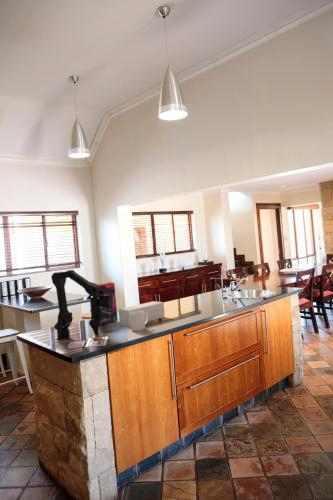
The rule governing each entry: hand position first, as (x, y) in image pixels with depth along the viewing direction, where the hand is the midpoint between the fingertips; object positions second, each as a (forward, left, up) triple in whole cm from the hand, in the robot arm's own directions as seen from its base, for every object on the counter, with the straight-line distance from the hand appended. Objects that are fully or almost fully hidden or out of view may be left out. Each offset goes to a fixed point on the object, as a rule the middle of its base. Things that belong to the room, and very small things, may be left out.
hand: (97, 333), depth 215 cm
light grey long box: (+26, +41, -4) cm, 49 cm away
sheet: (0, -5, -3) cm, 6 cm away
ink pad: (-10, -9, -3) cm, 14 cm away
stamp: (0, 0, -3) cm, 3 cm away
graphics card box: (0, +43, -4) cm, 43 cm away
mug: (+24, +16, -4) cm, 29 cm away
